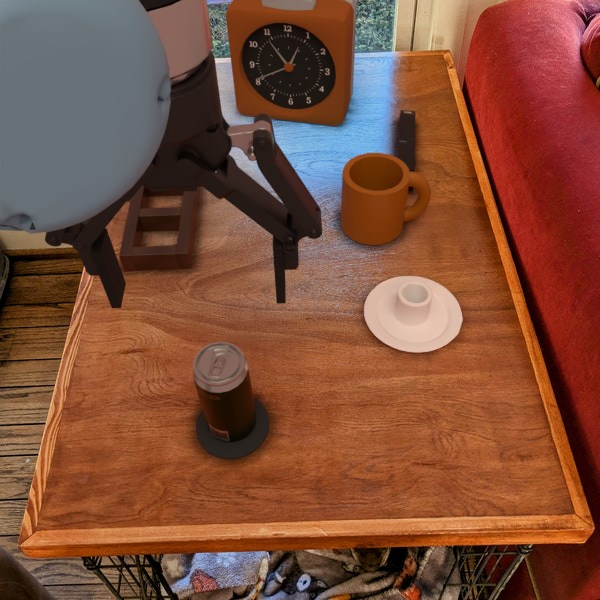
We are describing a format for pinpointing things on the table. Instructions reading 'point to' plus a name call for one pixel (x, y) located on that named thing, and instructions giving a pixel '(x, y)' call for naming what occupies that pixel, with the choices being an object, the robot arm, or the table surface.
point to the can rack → (159, 220)
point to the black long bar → (407, 140)
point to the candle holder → (413, 314)
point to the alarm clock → (293, 58)
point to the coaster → (237, 448)
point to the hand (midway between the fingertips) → (200, 293)
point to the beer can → (225, 391)
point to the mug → (379, 197)
